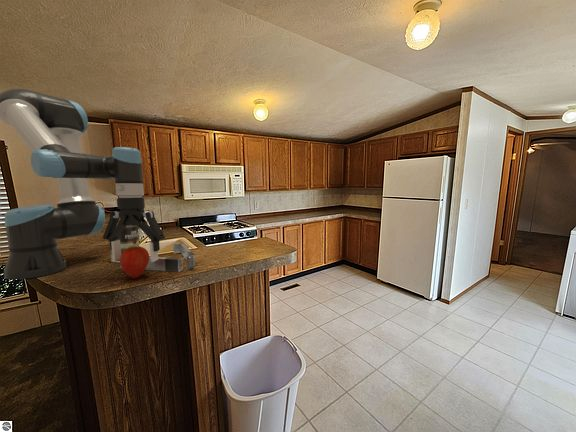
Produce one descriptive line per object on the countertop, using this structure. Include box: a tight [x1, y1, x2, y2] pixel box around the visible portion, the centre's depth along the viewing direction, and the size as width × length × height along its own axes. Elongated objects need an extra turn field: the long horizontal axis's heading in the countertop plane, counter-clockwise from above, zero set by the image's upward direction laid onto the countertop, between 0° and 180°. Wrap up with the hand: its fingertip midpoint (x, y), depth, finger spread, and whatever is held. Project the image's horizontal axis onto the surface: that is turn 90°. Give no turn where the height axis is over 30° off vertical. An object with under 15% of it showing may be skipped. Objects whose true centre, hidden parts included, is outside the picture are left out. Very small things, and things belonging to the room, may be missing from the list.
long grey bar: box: [119, 255, 195, 273], centre depth 89 cm, size 27×5×5 cm, turn 84°
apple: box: [119, 245, 150, 279], centre depth 80 cm, size 9×8×11 cm
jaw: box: [172, 242, 196, 266], centre depth 101 cm, size 23×4×4 cm, turn 34°
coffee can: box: [109, 224, 140, 264], centre depth 99 cm, size 10×10×14 cm
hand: (135, 260), depth 80 cm, fingers open, 13 cm apart
